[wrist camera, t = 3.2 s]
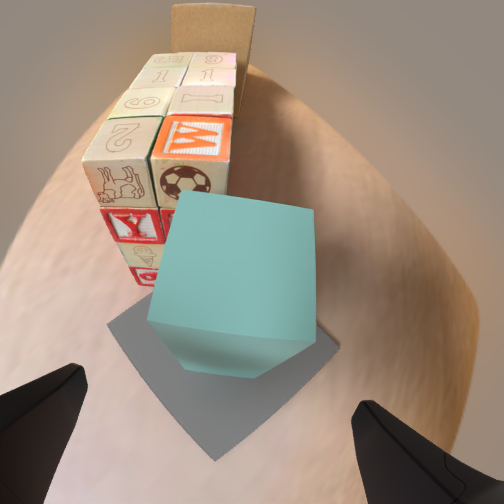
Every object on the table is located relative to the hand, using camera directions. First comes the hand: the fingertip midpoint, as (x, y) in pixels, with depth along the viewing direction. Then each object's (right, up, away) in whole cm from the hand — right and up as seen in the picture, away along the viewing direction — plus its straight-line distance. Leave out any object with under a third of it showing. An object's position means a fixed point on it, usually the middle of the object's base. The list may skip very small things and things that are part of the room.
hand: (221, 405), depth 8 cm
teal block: (-1, -2, +11) cm, 11 cm away
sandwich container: (-5, +28, +28) cm, 40 cm away
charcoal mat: (-1, -2, +12) cm, 12 cm away
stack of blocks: (-5, +11, +18) cm, 22 cm away
